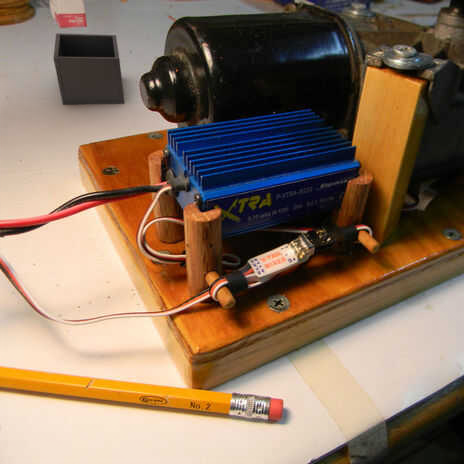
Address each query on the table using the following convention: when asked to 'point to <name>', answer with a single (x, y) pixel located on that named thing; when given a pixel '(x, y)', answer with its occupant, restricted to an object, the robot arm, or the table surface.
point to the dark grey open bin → (88, 69)
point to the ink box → (68, 13)
